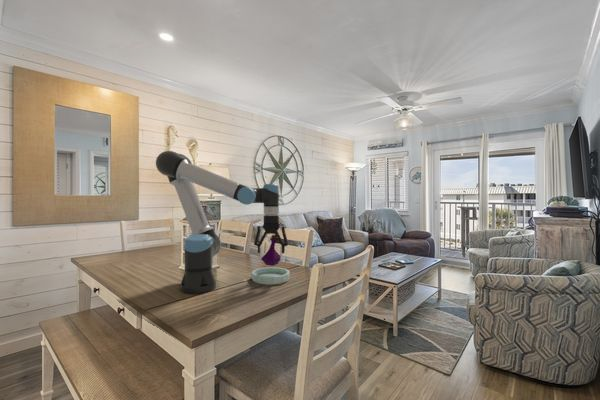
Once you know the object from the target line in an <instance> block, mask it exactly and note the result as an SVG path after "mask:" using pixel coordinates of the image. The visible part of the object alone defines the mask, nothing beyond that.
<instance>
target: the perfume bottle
mask: <svg viewBox="0 0 600 400" xmlns="http://www.w3.org/2000/svg"><path fill="white" fill-rule="evenodd" d="M269 240H270V241H271V242H270V246H269V248H268V250H267V251H266V253H265V254H264V255H262V260H261V261H262V262H263V263H264V264H265V265H266V266H269V267H273V266H277V265H278V264H279V262H280V261H281V260H280V253H278V252H277V251H276V248H275V247H276V246H275V245H276V243H277V241H279V240H278V238H277V237H276V235H275V234H272V235H271V236H270V239H269Z"/></svg>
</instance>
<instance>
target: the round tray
mask: <svg viewBox="0 0 600 400" xmlns="http://www.w3.org/2000/svg"><path fill="white" fill-rule="evenodd" d="M290 273H291V272H290V270H289V269H287V268H282V267H273V266H269V267H268V266H267V267H261V268H257V269H254V270H253V271H252V272H251V280H252V282H253V283H255V284H258V285H259V284H260V285H267V286H268V285H269V286H273V285H274V286H275V285H280V284H284V283H287V282H288V281H289V280H290V275H291V274H290Z"/></svg>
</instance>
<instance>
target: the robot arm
mask: <svg viewBox="0 0 600 400" xmlns="http://www.w3.org/2000/svg"><path fill="white" fill-rule="evenodd" d="M155 166H156V169H157V171H158V172H159V173H160V174H162V175H164V176H166V177H167V179H168V182H169V184H170V185H172V186H173V187H174V188H175V190H176V194H177V196H178V200H179V201H180V205H181V207H182V209H183V213H184V215H185V217H186V220H187V224H188V225H189V229H190V231H191V233H190V235H189V236H187V237H186V238H185V240H184V245H183V248H184V274H183V276H182V279H181V282H180V287H179V288H180V291H181V292H182V291H183V292H182V293H184V292H185V293H184V294H201V293H203V294H204V293H207V292H211V291H212V290H215V289H216V287H217V280H216V278H215V275H214V272H213V257H215V256H216V255H217V254H218V253H219V251H220V249H221V246H222V242H221V238H220V237H219V236H218V234H216V232H215V229H214V227H213V226H211V225H209V223H208V219H207V217H206V214H205V210H204V209H203V206H202V203H201V201H200V198H199V195H198V193H197V190H196V187H195V185H198V186H201V187H203V188H205V189H208V190H210V191H212V192H215V193H218V194H220V195H222V196H225V197H228V198H230V199H233V200H235V201H238V202H239V203H241V204H243V205H251V204H263V225H257V226H256V229H257V231H256V236H255V240H254V244H253V245H254V246H256V247H257V253H258V254H259V261H263V260H262V257H263V245H262V244H263V242H264V241H265V239H266V237H267V235H271V234H272V235H276V237H277V238H278V240H277V241H278V242H279V244H280V246H279V252H280V253H279V255H280V261H283V254H285V253H286V252H285V247H287V246H288V245H289V241H288V237H287V234H286V226H285V225H280V219H279V218H280V217H279V214H280V207H279V204H280V203H279V198H280V194H279V191H280V190H279V185H278V184H276V183H265V184H263V186H262V187H249V186H247V185H244V184H242V183H238V182H236V181H235V180H233V179H230V178H226V177H224V176H222V175H219V174H217V173H214V172H212V171H209V170H207V169H205V168H202V167H200V166H198V165H195V164H193V163H192V161H191V159H190V158H188V156H186V155H185V154H181V153H179V152H178V153H177V152H175V151H172V150H166V151H163V152H161V153H159V154H158V156H156V159H155ZM194 184H195V185H194ZM279 229H280V231H281V234H282V237H281V235H280V233H279ZM262 230H264V232H263V235H262V236H261V238H260V235H261V232H262ZM282 238H283V239H282Z"/></svg>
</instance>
